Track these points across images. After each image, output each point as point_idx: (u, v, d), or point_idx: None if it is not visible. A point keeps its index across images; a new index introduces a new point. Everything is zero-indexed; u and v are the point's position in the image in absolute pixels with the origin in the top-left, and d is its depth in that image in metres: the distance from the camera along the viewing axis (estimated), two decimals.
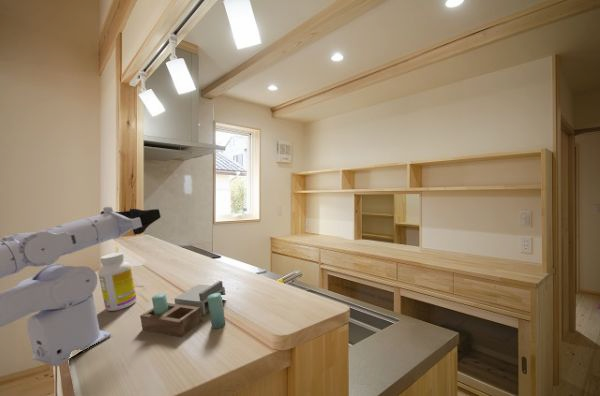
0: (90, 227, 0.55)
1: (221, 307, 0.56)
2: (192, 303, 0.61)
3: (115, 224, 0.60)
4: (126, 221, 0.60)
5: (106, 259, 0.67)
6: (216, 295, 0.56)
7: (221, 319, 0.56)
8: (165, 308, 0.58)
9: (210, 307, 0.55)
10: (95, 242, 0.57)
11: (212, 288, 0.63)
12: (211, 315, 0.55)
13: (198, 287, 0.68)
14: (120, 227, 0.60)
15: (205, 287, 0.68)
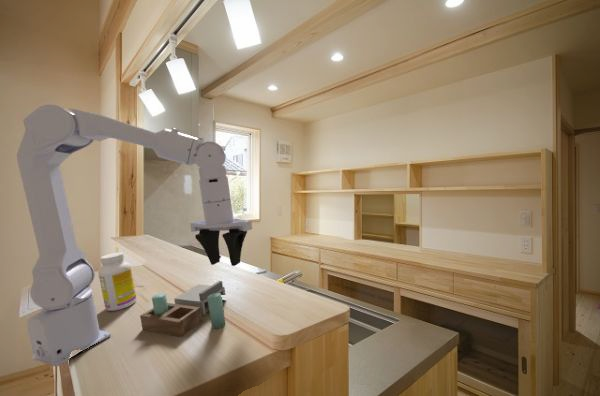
0: (222, 196, 0.57)
1: (221, 307, 0.56)
2: (192, 303, 0.61)
3: (231, 217, 0.59)
4: None
5: (106, 259, 0.67)
6: (216, 295, 0.56)
7: (221, 319, 0.56)
8: (165, 308, 0.58)
9: (210, 307, 0.55)
10: (205, 200, 0.57)
11: (212, 288, 0.63)
12: (211, 315, 0.55)
13: (198, 287, 0.68)
14: (229, 222, 0.58)
15: (205, 287, 0.68)
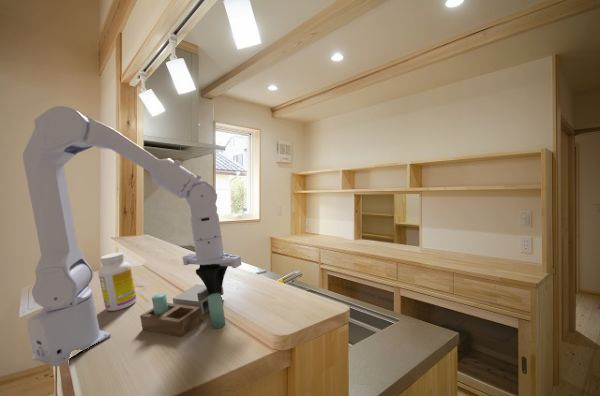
0: (213, 234, 0.60)
1: (221, 307, 0.56)
2: (190, 303, 0.62)
3: (221, 253, 0.61)
4: None
5: (106, 259, 0.67)
6: (216, 295, 0.56)
7: (221, 319, 0.56)
8: (165, 308, 0.58)
9: (210, 307, 0.55)
10: (197, 238, 0.59)
11: None
12: (211, 315, 0.55)
13: (196, 287, 0.68)
14: (219, 258, 0.61)
15: (203, 287, 0.68)
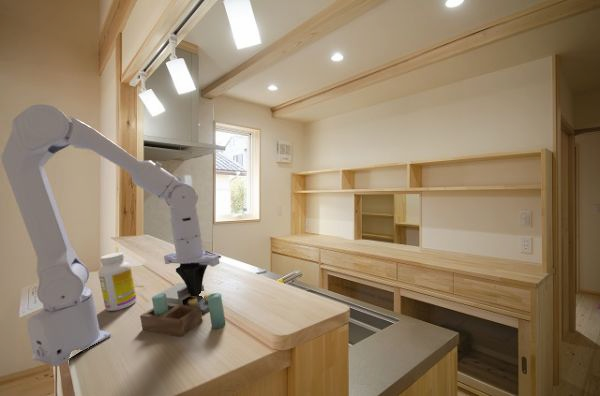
0: (194, 233, 0.62)
1: (221, 307, 0.56)
2: (171, 300, 0.64)
3: (200, 252, 0.64)
4: None
5: (106, 259, 0.67)
6: (216, 295, 0.56)
7: (221, 319, 0.56)
8: (165, 308, 0.58)
9: (210, 307, 0.55)
10: (178, 238, 0.61)
11: None
12: (211, 315, 0.55)
13: (178, 285, 0.71)
14: (198, 257, 0.63)
15: (185, 285, 0.70)
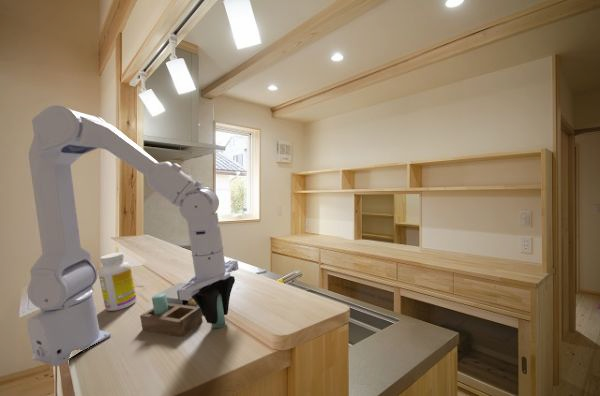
0: (210, 249, 0.52)
1: (221, 307, 0.56)
2: (171, 300, 0.64)
3: (201, 275, 0.53)
4: (195, 286, 0.51)
5: (106, 259, 0.67)
6: None
7: (221, 319, 0.56)
8: (165, 308, 0.58)
9: None
10: (193, 253, 0.53)
11: None
12: None
13: (178, 285, 0.71)
14: (197, 279, 0.53)
15: None
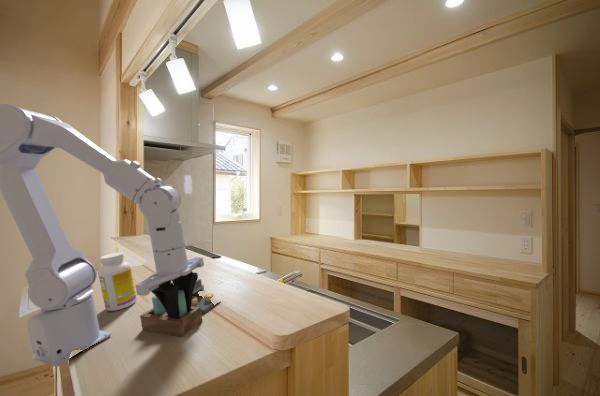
0: (170, 245, 0.53)
1: (184, 303, 0.56)
2: None
3: (161, 271, 0.53)
4: None
5: (106, 259, 0.67)
6: (179, 291, 0.56)
7: (184, 315, 0.56)
8: None
9: None
10: (154, 249, 0.53)
11: None
12: None
13: None
14: (158, 275, 0.53)
15: None
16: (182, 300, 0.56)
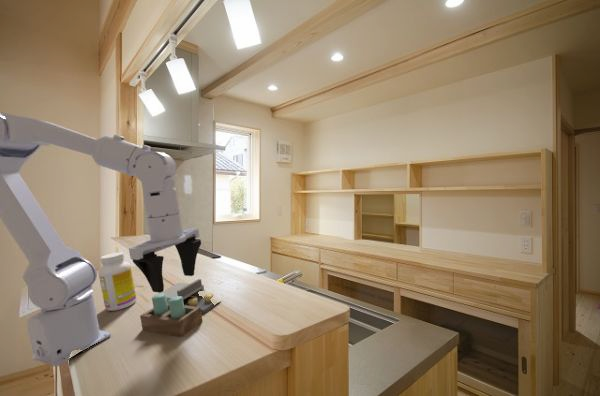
0: (165, 211, 0.52)
1: (182, 310, 0.56)
2: None
3: (155, 237, 0.52)
4: None
5: (106, 259, 0.67)
6: (177, 298, 0.56)
7: None
8: (165, 308, 0.58)
9: (171, 310, 0.55)
10: (148, 215, 0.52)
11: (190, 286, 0.66)
12: None
13: (178, 285, 0.71)
14: (152, 242, 0.53)
15: (185, 285, 0.70)
16: (181, 307, 0.56)
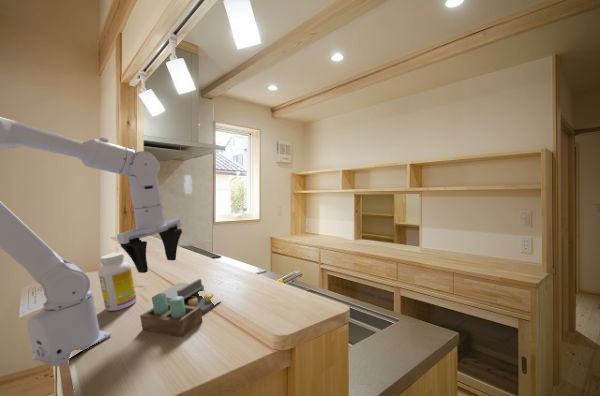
0: (157, 202, 0.62)
1: (183, 310, 0.56)
2: None
3: (140, 226, 0.61)
4: None
5: (106, 259, 0.67)
6: (178, 298, 0.56)
7: None
8: (165, 308, 0.58)
9: (171, 310, 0.55)
10: (140, 206, 0.60)
11: (190, 286, 0.66)
12: None
13: (178, 285, 0.71)
14: (137, 229, 0.61)
15: (185, 285, 0.70)
16: (181, 307, 0.56)
